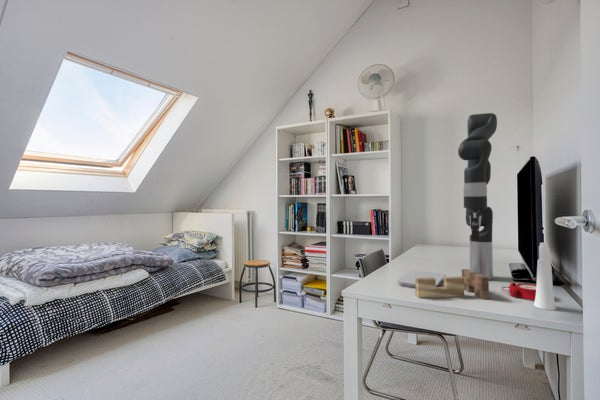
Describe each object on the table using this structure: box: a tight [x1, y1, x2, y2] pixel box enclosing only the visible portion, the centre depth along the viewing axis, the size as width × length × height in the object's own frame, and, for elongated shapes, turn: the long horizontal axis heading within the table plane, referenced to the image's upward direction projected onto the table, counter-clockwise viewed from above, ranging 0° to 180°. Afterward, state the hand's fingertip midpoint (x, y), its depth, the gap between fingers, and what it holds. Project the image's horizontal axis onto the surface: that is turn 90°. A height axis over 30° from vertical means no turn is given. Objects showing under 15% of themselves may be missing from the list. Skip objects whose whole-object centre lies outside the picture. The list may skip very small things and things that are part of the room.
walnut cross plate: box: [461, 268, 490, 300], centre depth 127 cm, size 14×2×8 cm, turn 2°
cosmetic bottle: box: [533, 242, 557, 311], centre depth 110 cm, size 6×6×22 cm
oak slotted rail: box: [415, 275, 465, 299], centre depth 125 cm, size 2×18×7 cm, turn 92°
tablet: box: [396, 269, 446, 289], centre depth 147 cm, size 16×26×2 cm, turn 146°
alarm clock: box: [501, 282, 537, 301], centre depth 122 cm, size 10×6×15 cm
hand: (475, 239), depth 118 cm, fingers open, 8 cm apart
